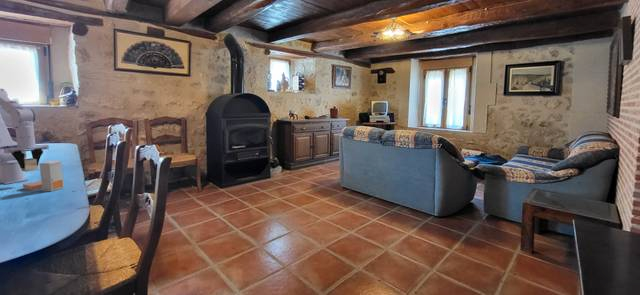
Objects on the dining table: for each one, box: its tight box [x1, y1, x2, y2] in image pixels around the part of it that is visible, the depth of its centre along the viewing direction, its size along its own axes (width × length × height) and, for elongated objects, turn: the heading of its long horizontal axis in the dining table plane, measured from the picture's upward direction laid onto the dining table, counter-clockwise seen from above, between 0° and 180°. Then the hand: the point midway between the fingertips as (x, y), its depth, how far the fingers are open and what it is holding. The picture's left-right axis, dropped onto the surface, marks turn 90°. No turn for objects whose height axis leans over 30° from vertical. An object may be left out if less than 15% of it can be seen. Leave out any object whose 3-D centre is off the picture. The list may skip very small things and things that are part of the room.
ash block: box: [21, 157, 39, 173], centre depth 133 cm, size 4×4×5 cm
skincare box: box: [39, 160, 65, 192], centre depth 127 cm, size 6×4×12 cm
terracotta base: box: [22, 180, 42, 192], centre depth 130 cm, size 7×7×2 cm
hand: (29, 167), depth 133 cm, fingers closed on ash block, 4 cm apart
